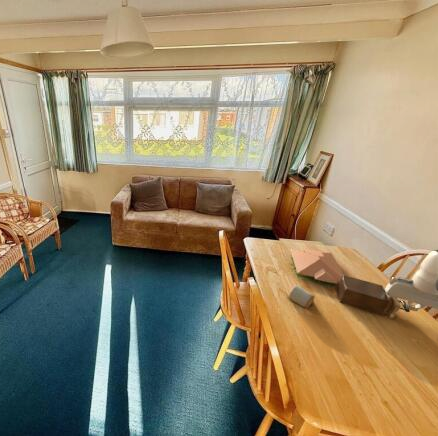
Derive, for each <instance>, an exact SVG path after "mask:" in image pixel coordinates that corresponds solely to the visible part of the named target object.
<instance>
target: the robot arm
mask: <svg viewBox="0 0 438 436" xmlns="http://www.w3.org/2000/svg"><path fill="white" fill-rule="evenodd" d="M384 290H385V291H386V295H389V296H393V297H396V298H397V299H400V300H403V301H405V302H406V305H407V306H408V308H409V310H410V311H413V312H415V313H417V312H418V311H419V310H421V309H424V308H425V307H428V308H432V309H434V310H435V309H436V310H438V249H434V250H432V251H430V252H429V253H428V254H427V256H426V257H425V258H424V259H423V261H422V262H421V264H420V268H419V269H418V270H417V271H416V272H415V273H414V275H413V276H412V278H411V279H408V278H403V277H401V276H396V277H395V276H394V277H391V278H390V280H389V282H388V283H387V285H386V286H385V287H384ZM414 304H415V305H414Z"/></svg>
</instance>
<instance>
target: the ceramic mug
mask: <svg viewBox="0 0 438 436" xmlns="http://www.w3.org/2000/svg"><path fill="white" fill-rule="evenodd" d="M288 299H289V300H290V301H292V302H294V303H296V304H297V305H299V306H300V307H302V308H305V309H308V308H309V307H310V306H311V305H312V304H313V302H314V300H315V296H314V295H313V294H312V293H311V292H310V291H307V290H306V289H304V288H303V287H301V286H300V285H298V284H297V285H295V286H294V287H293V288H292V289H291V291H290V292H289V295H288Z"/></svg>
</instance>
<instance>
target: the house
mask: <svg viewBox="0 0 438 436" xmlns="http://www.w3.org/2000/svg"><path fill="white" fill-rule="evenodd" d="M303 250H304V251H303ZM303 250H297V249H291V248H290V252H291V256H292V258H291V260H292V259H293V261H292V263H294V264H293V267H295V268H296V269H295V268H294V271H296V272H295V275H296V274H297V275H296V278H297V277H298V278H301V279H303V280H304V278H305V279H306V280H307V281H312V282H317V283H319V285H322V286H323V285H325V286H326V287H331V288H333V287H334V286H335V287H337V286H338V284H339V282H340V280H341V278H342V275H345V274H344V273H343V271H342V269H341V267H340V265H339V263H338V262H337V260H336V258H335V256H334V254H333V253H332V252H327V251H321V250H316V249H311V248H305V247H304V248H303Z"/></svg>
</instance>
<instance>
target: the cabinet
mask: <svg viewBox="0 0 438 436" xmlns="http://www.w3.org/2000/svg"><path fill="white" fill-rule="evenodd" d="M335 291H336V296H337V301H339V303H340V304H344V305H346V306H350V307H353V308H356V309H359V310H363V311H366V312H368V313H373V314H376V315H378V316H382V315H383V314H382V313H383V312H384V310H385V308H386V307H387V305H388V303H389V302H390V301H389V299H388V297H387V293H386V292H385V287H384V285H382V284H378V283H374V282H371V281H367V280H364V279H360V278H356V277H352V276H349V275H345V274H344V275H342V278H341V280H340V282H339V284H338V285H337V286H336V289H335Z"/></svg>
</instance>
